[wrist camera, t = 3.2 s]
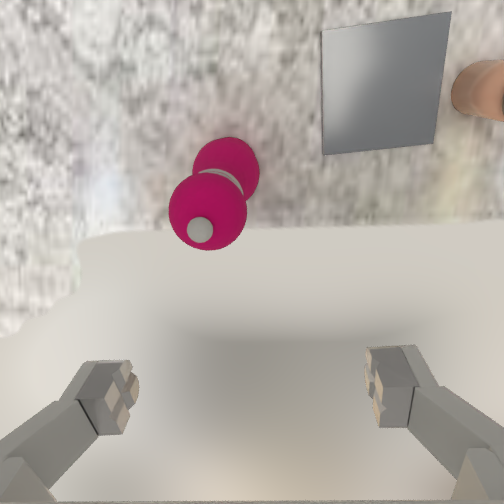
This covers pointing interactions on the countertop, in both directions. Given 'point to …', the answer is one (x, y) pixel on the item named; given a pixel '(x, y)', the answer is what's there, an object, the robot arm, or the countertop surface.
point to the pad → (382, 83)
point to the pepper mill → (215, 195)
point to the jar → (480, 90)
